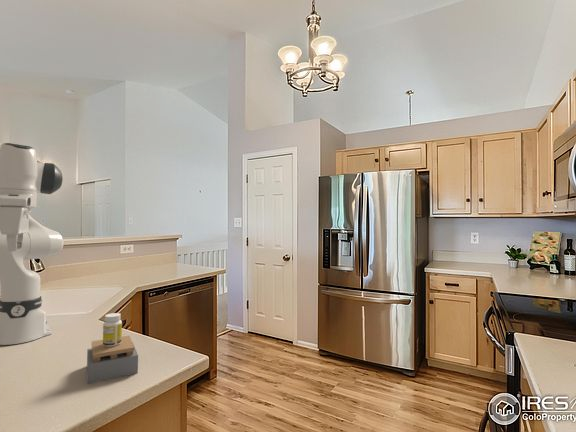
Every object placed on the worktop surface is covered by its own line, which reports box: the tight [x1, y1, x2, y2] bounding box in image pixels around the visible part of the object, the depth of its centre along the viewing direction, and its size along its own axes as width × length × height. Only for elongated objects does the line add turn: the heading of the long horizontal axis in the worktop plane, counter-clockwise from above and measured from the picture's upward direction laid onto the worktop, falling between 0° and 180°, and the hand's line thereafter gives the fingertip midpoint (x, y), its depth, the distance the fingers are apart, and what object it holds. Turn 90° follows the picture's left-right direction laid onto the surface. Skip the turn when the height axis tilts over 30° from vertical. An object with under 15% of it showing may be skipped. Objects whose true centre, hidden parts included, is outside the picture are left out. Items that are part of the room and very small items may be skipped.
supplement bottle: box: [102, 312, 123, 347], centre depth 94 cm, size 5×5×8 cm
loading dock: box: [86, 335, 139, 384], centre depth 94 cm, size 12×12×7 cm
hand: (15, 249), depth 91 cm, fingers open, 8 cm apart
